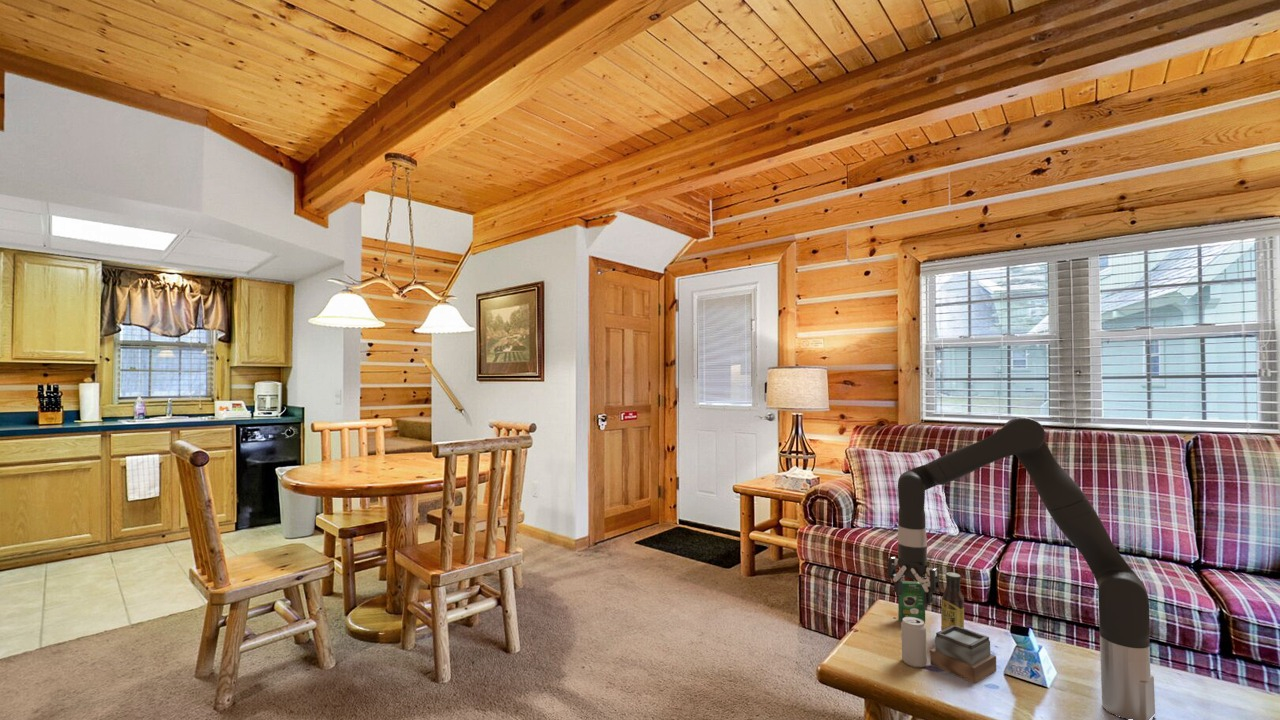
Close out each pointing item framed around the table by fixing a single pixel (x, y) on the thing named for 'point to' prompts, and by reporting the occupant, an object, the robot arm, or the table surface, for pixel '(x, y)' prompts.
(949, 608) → the sauce bottle
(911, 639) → the beverage can
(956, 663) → the tower base
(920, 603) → the coffee box
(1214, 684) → the table surface
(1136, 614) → the robot arm
